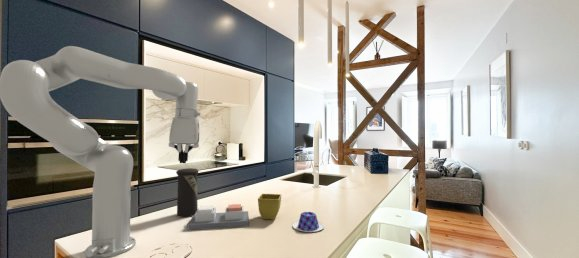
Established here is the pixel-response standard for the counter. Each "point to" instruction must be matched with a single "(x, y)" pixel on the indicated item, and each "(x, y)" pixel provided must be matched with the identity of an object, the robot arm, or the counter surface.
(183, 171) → the container
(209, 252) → the counter surface
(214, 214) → the push button panel
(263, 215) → the flower pot
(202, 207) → the white key
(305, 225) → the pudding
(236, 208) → the brick key
